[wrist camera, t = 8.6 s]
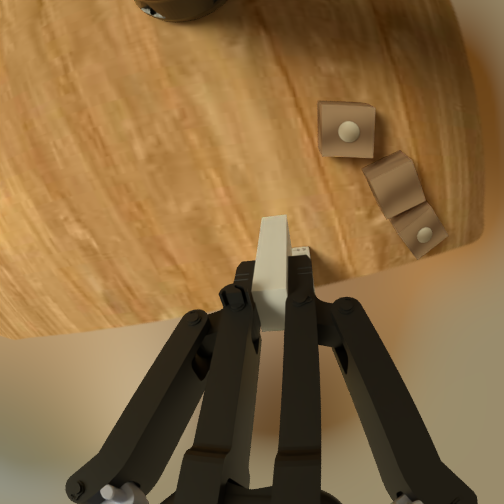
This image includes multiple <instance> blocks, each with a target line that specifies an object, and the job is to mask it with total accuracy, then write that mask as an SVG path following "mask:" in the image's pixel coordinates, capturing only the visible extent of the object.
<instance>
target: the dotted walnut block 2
mask: <svg viewBox="0 0 504 504" xmlns="http://www.w3.org/2000/svg"><path fill="white" fill-rule="evenodd" d="M389 220H390V221H391V223H392V225H393V227H394V228H395V230H396V232H397V234H398V235H399V236H400V238H401V239H402V240H403V241H404V243H405V244H406V245H407V247H408V248H409V249H410V251H411V252H412V253H413V255H414V256H415V257H416V259H417V260H418V259H419V258H421V257H422V256H423V255H425V254H426V253H427V252H428V251H430V250H431V249H432V248H434V247H435V246H436V245H437V244H439V243H440V242H441V241H443V240H444V239H445V238H446V237H448V236H449V235H448V234H447V232H446V230H445V228H444V227H443V225H442V223H441V222H440V220H439V218H438V217H437V215H436V214H435V212H434V210H433V209H432V207H431V206H430V205H429V204H428V203H427V201H424V202H422V203H420V204H418V205H416V206H414V207H412V208H410V209H408V210H406V211H404V212H402V213H399V214H397V215H395V216H393V217H391V218H389Z"/></svg>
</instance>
